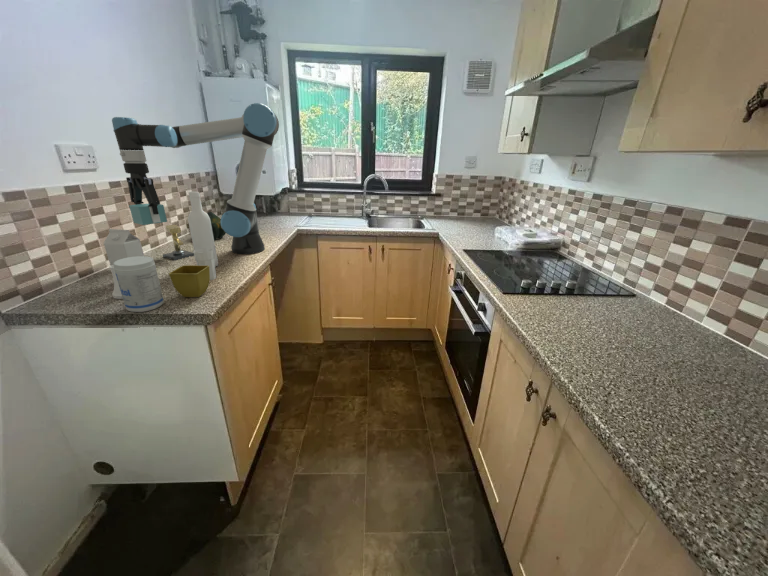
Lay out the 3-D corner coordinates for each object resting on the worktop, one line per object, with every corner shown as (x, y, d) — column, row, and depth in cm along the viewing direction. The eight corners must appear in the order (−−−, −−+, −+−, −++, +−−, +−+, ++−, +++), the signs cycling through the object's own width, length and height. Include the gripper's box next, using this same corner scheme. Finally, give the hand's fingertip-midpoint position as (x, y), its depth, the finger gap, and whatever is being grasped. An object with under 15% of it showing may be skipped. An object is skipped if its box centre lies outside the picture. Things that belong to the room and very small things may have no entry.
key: (180, 247, 147) (175, 224, 143) (188, 254, 137) (183, 230, 133) (170, 249, 144) (165, 225, 140) (177, 256, 134) (172, 231, 130)
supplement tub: (118, 309, 94) (103, 262, 88) (150, 297, 102) (138, 254, 96) (141, 315, 91) (127, 267, 85) (172, 303, 99) (161, 258, 93)
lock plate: (195, 255, 145) (194, 250, 144) (175, 260, 138) (174, 255, 137) (183, 252, 149) (181, 247, 148) (163, 257, 142) (162, 251, 141)
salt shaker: (107, 296, 102) (97, 266, 98) (132, 288, 109) (124, 260, 105) (121, 300, 100) (112, 270, 96) (146, 292, 106) (138, 264, 102)
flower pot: (188, 289, 109) (182, 264, 106) (214, 289, 110) (209, 265, 106) (174, 300, 101) (167, 273, 98) (202, 300, 102) (197, 273, 98)
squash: (202, 233, 162) (215, 209, 166) (185, 230, 170) (199, 207, 173) (224, 247, 174) (236, 224, 178) (208, 244, 181) (220, 221, 185)
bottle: (218, 262, 137) (206, 190, 126) (218, 267, 131) (205, 192, 119) (197, 264, 134) (182, 191, 123) (196, 270, 127) (180, 193, 116)
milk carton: (132, 277, 118) (117, 227, 110) (150, 278, 117) (136, 227, 110) (116, 284, 111) (99, 231, 104) (135, 285, 111) (120, 232, 104)
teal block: (167, 221, 133) (163, 204, 130) (143, 225, 126) (138, 207, 123) (157, 219, 136) (153, 203, 134) (133, 222, 129) (128, 205, 127)
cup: (209, 274, 123) (203, 247, 119) (222, 276, 121) (217, 249, 117) (194, 279, 118) (188, 251, 113) (208, 282, 116) (202, 253, 111)
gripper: (108, 161, 123) (125, 220, 132) (140, 163, 115) (156, 225, 123) (130, 161, 129) (145, 217, 138) (161, 163, 121) (175, 222, 130)
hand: (150, 221), depth 131 cm, fingers closed on teal block, 8 cm apart
